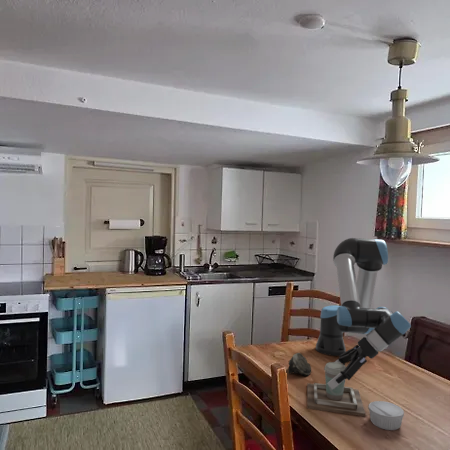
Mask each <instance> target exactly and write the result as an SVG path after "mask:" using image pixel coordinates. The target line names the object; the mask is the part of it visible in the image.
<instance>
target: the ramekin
mask: <svg viewBox="0 0 450 450" xmlns="http://www.w3.org/2000/svg"><path fill="white" fill-rule="evenodd" d="M367 409H368V411H369V412H368V413H369V419H370V422H371V423H372V424H373V425H374V426H376V427H377V428H379V429H383V430H385V431H396V430H399V428H401V426H402V423H403V417H405V411H404V410H403V408H401V406H399V405H396V404H394V403H392V402H390V401H389V402H388V401H383V400H382V401H381V400H374V401H372V402H370V403H369V404H368V408H367Z"/></svg>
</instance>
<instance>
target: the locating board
mask: <svg viewBox="0 0 450 450" xmlns="http://www.w3.org/2000/svg"><path fill="white" fill-rule="evenodd" d="M306 385H307V386H306V389H307V395H306V396H307V397H306V398H307V401H306V402H307V404H306V405H307V407H306V409H310V410H316V411H317V410H318V411H325V412H332V413H338V414H347V415H352V416H353V415H354V416H358V417H359V416H360V417H361V416H362V417H366V416H367V415H366V411H365V407H364V404H363V400H362V397H361V394H360V391H359V388H358V389H357V388H354V387H350V386H344V391H343V397H342V399H341V400H332V399H330V398H328V397H327V394H326V383H318V382H313V383H311V382H310V383H309V382H307V384H306Z"/></svg>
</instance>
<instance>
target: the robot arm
mask: <svg viewBox="0 0 450 450" xmlns="http://www.w3.org/2000/svg"><path fill="white" fill-rule="evenodd" d="M332 261H333V265H334V266H335V267H336V273H337V282H338V289H339V291H338V292H339V299H340V305H334V304H333V305H328V306H327V305H326V306H323V308H322V309H321V311H320V317H319V318H320V322H319V323H320V327H319V328H320V329H319V336H318V339H317V341H316V344H315V350H316V352H318V353H320V354H323V355H328V356H334V357H336V356H337V357H338V359H336V360H335V361H334V362H336V363H341V364H343V365H345V366H346V364H347V363H348V364H347V366H346V368H345V370H344V371H340V373H339V374H338V375H337V376H335V377H334V378H333V379H332V380H330V381H329V382H328V383H327V384H328V385H329V386H330V388H331V389H332V390H333V389H334V388H335V387H337V386H338V385H339V384H340V383H342V382H343V381H344V380H345V381H346V380H348V381H350V380H351V379H352V378H353V376H355V374H357V372H358V371H359V370H361V367H362V366H363V365H365V364H366V363H367V362H368V360H367V359H366V358H367V357H368V358H369V359H370V360H372V359H374V358H375V357H377V355H379V352H382V351H384V349H385V350H387V349H388V347H389V346H390V345H391V344H392V343H394V342H395V341H396V340H397V339H399V338H401V337H402V336H403V335H405V334H406V333H407V332H408V330H410V329H411V327H412V325H411V322H409V321H408V320H407V319H406V318H405V317H404V316H403V315H402V313H400V312H399V310H398V311H395V312H393V311H392V310H390V309H389V308H388V307H385V306H379V307H377V308H372V304H373V299H374V292H375V288H376V287H375V286H376V283H377V282H376V281H377V278H378V273H379V272H380V271H381V270H382V268H383V265H384V266H385V265H388V263H389V251H388V246H387V243H386V241H385V240H384V239H377V238H356V237H350V238H346V239H344V240H343V241H341V242H339V244H338V245H337V246H336V247H335V250H334V252H333V259H332ZM355 264H356V266H357V268H358V274H357V278H356V271H355V266H354V265H355ZM344 333H349V334H361V335H365V336H363V337H362V338H361V339H359V340H358V341H357V344H356V345H355V346H354V347H352V348H350V349H348V350H347V348H346V345H345V341H344V337H343V336H344V335H343V334H344Z"/></svg>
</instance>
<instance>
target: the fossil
mask: <svg viewBox="0 0 450 450" xmlns="http://www.w3.org/2000/svg"><path fill="white" fill-rule="evenodd" d="M311 373H312V366H311V364H310V363H309V362H308V360H307V359H306V357H305V356H304V355H303V354H302V353H300V352H297V353H294V354H293V355H292V357H291V358H290V359H289V361H288V371H287V374H299V375H301V376H302V377H303V376H304V377H308V376H310V375H311Z"/></svg>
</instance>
